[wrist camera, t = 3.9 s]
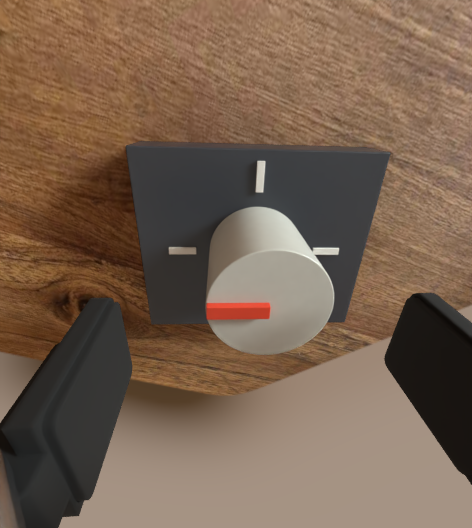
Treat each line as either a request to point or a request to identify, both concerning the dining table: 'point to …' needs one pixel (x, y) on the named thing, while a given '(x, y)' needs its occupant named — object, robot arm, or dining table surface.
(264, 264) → the lock knob
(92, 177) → the dining table surface
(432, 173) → the dining table surface
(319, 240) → the lock panel
